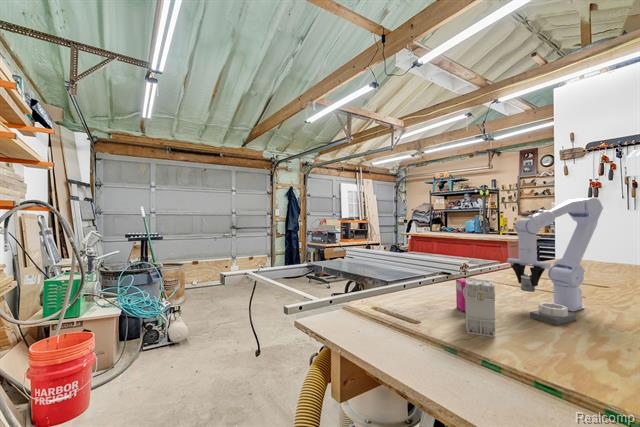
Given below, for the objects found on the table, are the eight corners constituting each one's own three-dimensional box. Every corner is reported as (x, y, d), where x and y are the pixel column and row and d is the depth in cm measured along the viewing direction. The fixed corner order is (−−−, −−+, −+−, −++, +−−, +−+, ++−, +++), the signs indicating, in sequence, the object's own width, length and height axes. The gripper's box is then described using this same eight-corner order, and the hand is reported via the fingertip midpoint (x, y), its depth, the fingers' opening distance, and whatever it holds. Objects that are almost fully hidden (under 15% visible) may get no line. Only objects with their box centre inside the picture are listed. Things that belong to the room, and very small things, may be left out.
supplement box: (471, 308, 111) (471, 278, 111) (478, 313, 105) (478, 282, 105) (455, 307, 111) (455, 278, 111) (461, 312, 105) (461, 281, 106)
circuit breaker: (489, 321, 97) (489, 277, 97) (495, 337, 84) (495, 286, 84) (464, 318, 100) (464, 275, 100) (466, 333, 87) (466, 283, 87)
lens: (525, 288, 113) (524, 273, 113) (537, 291, 108) (537, 275, 109) (518, 289, 111) (517, 274, 111) (530, 292, 107) (530, 276, 107)
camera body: (549, 312, 105) (549, 300, 105) (576, 320, 98) (576, 306, 98) (530, 317, 100) (529, 304, 100) (556, 325, 93) (556, 311, 93)
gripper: (502, 248, 115) (502, 281, 115) (542, 251, 102) (542, 289, 101) (513, 247, 118) (513, 280, 117) (553, 251, 104) (554, 287, 104)
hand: (527, 284), depth 110 cm, fingers closed on lens, 4 cm apart
